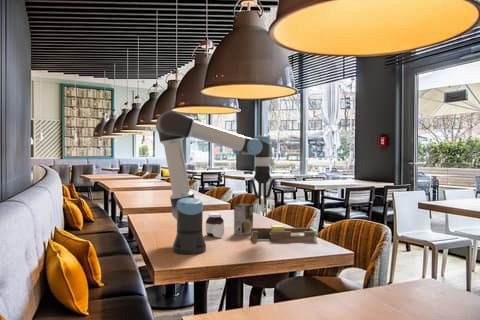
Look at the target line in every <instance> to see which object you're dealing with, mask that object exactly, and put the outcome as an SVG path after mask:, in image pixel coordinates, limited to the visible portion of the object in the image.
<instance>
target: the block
mask: <svg viewBox="0 0 480 320" xmlns="http://www.w3.org/2000/svg"><path fill="white" fill-rule="evenodd" d="M270 228H271V231H284V228H285V226H284V225H283V224H271V227H270Z"/></svg>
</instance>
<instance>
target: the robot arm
mask: <svg viewBox="0 0 480 320" xmlns="http://www.w3.org/2000/svg"><path fill="white" fill-rule="evenodd" d="M155 128H156V131H157V132H158V137H159V143H161V144H162V145H163V147H164V153H165V158H166V165H167V170H168V176H169V180H170V186H171V191H172V194H171V195H170V197H169V199H170V204H171V207H170V210H171V215H172V217H174V219H175V221H176V235H175V238H174V241H173V244H172V252H174V254H175V253H176V254H181V255H193V254H194V255H195V254H196V255H197V254H202V253H205V252H206V250H207V244H206V242H205V241H206V240H205V238H204V235H203V217H204V216H203V215H204V213H203V212H204V211H203V210H204V206H203V202H202V200H201V199H199V198H195V193H194V192H193V191H192V190H191V188H190V182H189V176H188V170H187V166H186V161H185V159H186V158H185V155H184V149H183V141H184V138H186V139H188V138H194V139H197V140H200V141H204V142H208V143H211V144H215V145H218V146H220V147H221V146H222V147H224V148H229V149H231V150H232V153H233V154H234V155H253V156H254V165H255V166H254V176H253V177H252V178H250V179H249V181H250V183H251V184H252V188H253V193H254V197H255V198H257V199H258V205H260V212H265V206H266V205H267V199H268V198H270V196H271V192H272V188H273V184H274V183H275V180H276V179H275V178H272V177H271V173H270V172H271V171H270V163H271V162H270V161H271V160H270V159H271V158H270V157H271V155H270V154H271V153H270V152H271V150H270V147H271V143H270V142H271V139H270V136H268V135H256V136H255V137H254V138H252V137H249V136H244V135H242V134H240V133H239V134H238V133H235V132H232V131H229V130H226V129H222V128H219V127H216V126H213V125H210V124H206V123H203V122H201V121H197V120H195V119H194V117H191V116H189V115H185V114H183V113H180V112H179V111H175V110H168V111H165V112H163V113H162V114H161V115H159V116H158V117H157V119H156V122H155ZM255 182H257V184H258V189H257V188H256V183H255ZM268 182H269V185H268V190H267V184H268ZM262 186H263V188H262ZM262 189H263V193H262ZM257 190H258V191H257ZM262 194H263V197H262Z"/></svg>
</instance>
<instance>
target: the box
mask: <svg viewBox="0 0 480 320" xmlns="http://www.w3.org/2000/svg"><path fill="white" fill-rule="evenodd" d="M317 233H318V231H317V230H316V229H315V228H314V227H313V226H310V227H284V231H271V227H253V228H251V234H250V239H251V241H252V242H253V243H256V242H257V243H258V242H276V243H277V242H278V243H279V242H283V243H285V242H286V243H287V242H290V243H292V242H293V243H294V242H295V243H297V242H300V243H303V242H304V243H305V242H307V243H308V242H310V243H311V242H315V243H317Z"/></svg>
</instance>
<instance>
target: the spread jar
mask: <svg viewBox="0 0 480 320" xmlns="http://www.w3.org/2000/svg"><path fill="white" fill-rule="evenodd" d="M205 233H206V235H208V237H214V238H218V239H220V238H222V237H223V236H224V235H225V221H224V218H223V217H222V213H220V212H209V213H208V218H206V220H205Z"/></svg>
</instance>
